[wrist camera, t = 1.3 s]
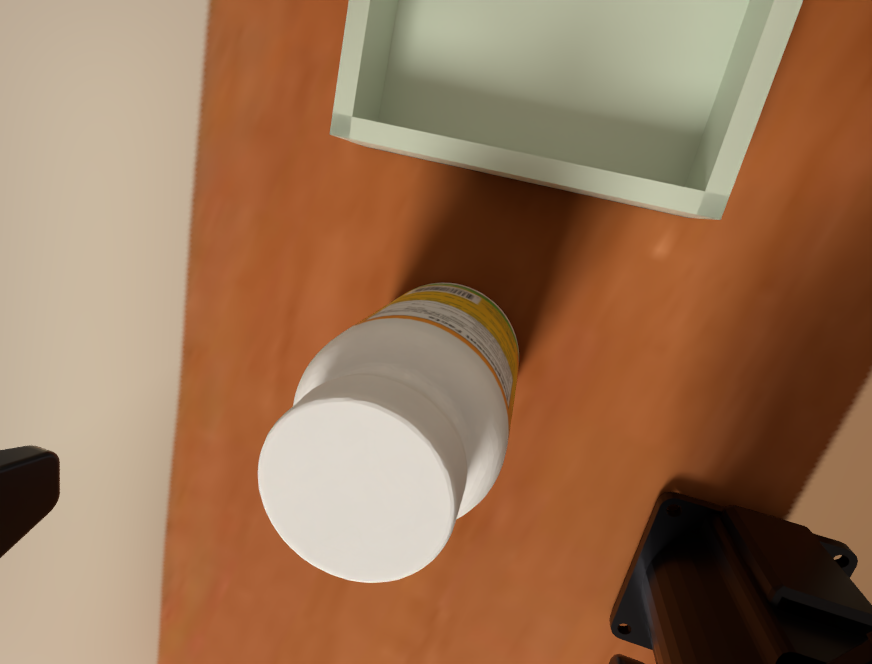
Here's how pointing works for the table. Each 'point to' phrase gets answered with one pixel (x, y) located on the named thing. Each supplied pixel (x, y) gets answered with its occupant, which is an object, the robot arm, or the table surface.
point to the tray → (567, 90)
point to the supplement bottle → (393, 434)
